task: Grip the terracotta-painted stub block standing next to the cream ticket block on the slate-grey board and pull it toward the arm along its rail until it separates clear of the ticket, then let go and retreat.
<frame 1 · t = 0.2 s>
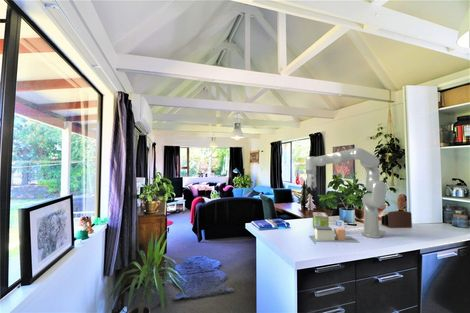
hand: (311, 194, 176), 31 cm above the counter, fingers open, 9 cm apart
stub: (340, 234, 161), point 5 cm above the counter, slide at 0.0 cm
ticket board: (333, 240, 161), on the counter
tea box: (320, 232, 181), on the counter
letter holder: (396, 226, 197), on the counter
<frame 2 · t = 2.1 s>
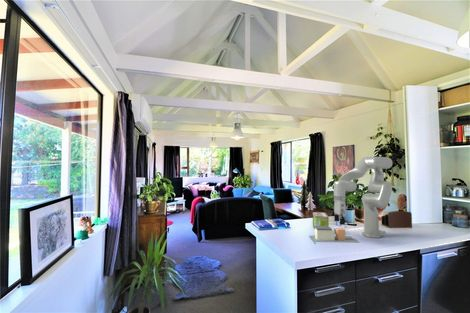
hand: (339, 222, 161), 13 cm above the counter, fingers open, 9 cm apart
nothing on the counter moved.
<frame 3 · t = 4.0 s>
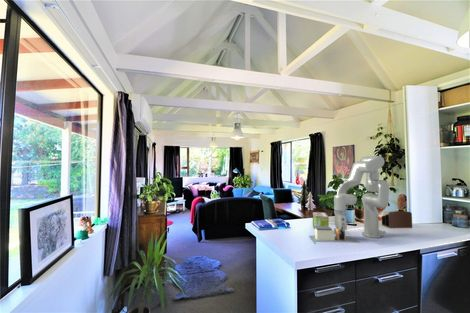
hand: (340, 238, 161), 2 cm above the counter, fingers closed on stub, 4 cm apart
stub: (340, 234, 161), point 5 cm above the counter, slide at 0.0 cm, touching gripper
everything else where it was.
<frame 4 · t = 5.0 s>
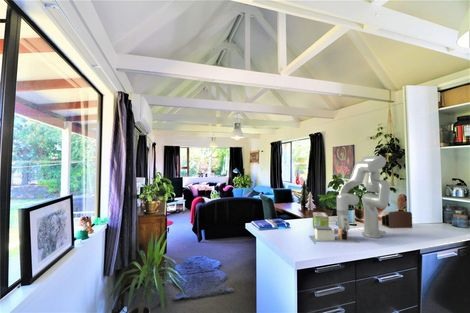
hand: (343, 238, 161), 2 cm above the counter, fingers closed on stub, 4 cm apart
stub: (343, 234, 161), point 5 cm above the counter, slide at 1.7 cm, touching gripper
everything else where it was.
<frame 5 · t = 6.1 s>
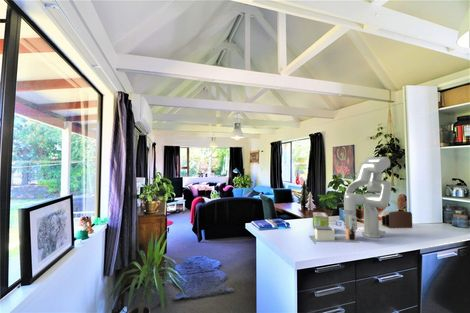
hand: (350, 238, 161), 2 cm above the counter, fingers closed on stub, 4 cm apart
stub: (350, 234, 161), point 5 cm above the counter, slide at 6.9 cm, touching gripper
everything else where it was.
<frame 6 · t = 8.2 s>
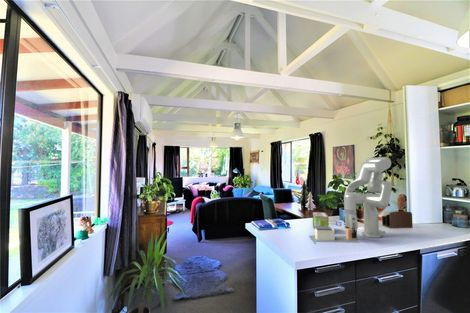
hand: (351, 235, 161), 3 cm above the counter, fingers open, 9 cm apart
stub: (350, 234, 161), point 5 cm above the counter, slide at 7.0 cm
everything else where it was.
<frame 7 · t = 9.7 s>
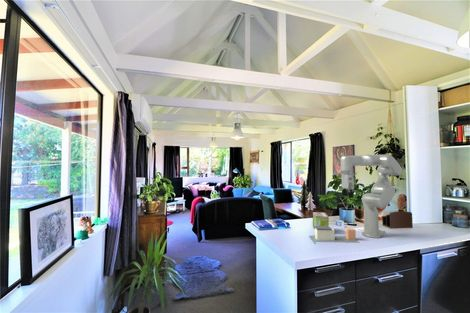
hand: (347, 196, 165), 31 cm above the counter, fingers open, 9 cm apart
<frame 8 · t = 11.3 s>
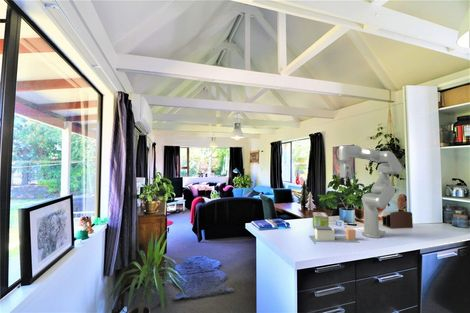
hand: (345, 185, 167), 38 cm above the counter, fingers open, 9 cm apart
at the end: stub slide at 7.0 cm; the gripper is holding nothing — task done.
